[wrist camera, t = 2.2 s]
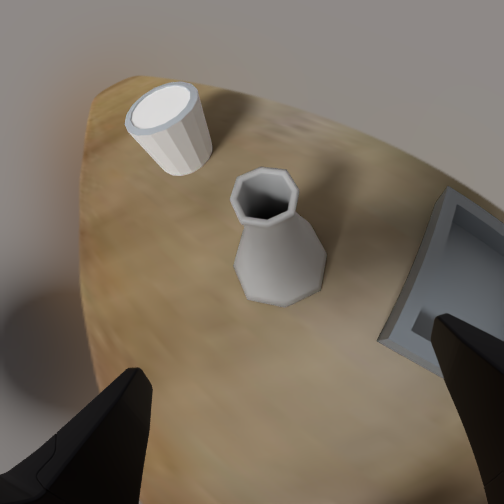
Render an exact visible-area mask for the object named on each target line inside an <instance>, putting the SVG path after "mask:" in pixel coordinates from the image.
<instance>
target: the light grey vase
mask: <svg viewBox="0 0 504 504" xmlns="http://www.w3.org/2000/svg"><path fill="white" fill-rule="evenodd" d="M298 196H299V189H298V187H297V185H296V184H295V182H294V181H293V179H292V177H291V176H290V174H289V173H288V171H287V170H286V169H277V168H269V167H259V168H257V169H254V170H252V171H250V172H247V173H245V174H243V175H241V176H238V177H237V179H236V182H235V185H234V188H233V191H232V194H231V197H230V201H231V204H232V206H233V208H234V210H235V212H236V215H237V217H238V219H239V221H240V223H241V224H242V225H244V230H243V233H242V236H241V240H240V243H239V247H238V251H237V254H236V258H235V262H234V265H233V267H234V269H235V272H236V274H237V276H238V279H239V281H240V283H241V286H242V288H243V290H244V293H245V295H246V298H247V300H252V301H257V302H261V303H266V304H271V305H276V306H280V307H287V306H289V305H291V304H294V303H296V302H298V301H300V300H302V299H304V298H306V297H308V296H311V295H313V294H315V293H317V292H319V291H321V285H322V280H323V275H324V269H325V263H326V257H327V253H326V251H325V250H324V248H323V246H322V244H321V242H320V240H319V239H318V237H317V235H316V233H315V231H314V230H313V228H312V226H311V224H310V223H309V222H308V221H307V220H305V219H304V218H302V217H301V216H300V215H299V214H298V213H297V212H296V206H297V201H298Z"/></svg>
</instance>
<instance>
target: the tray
mask: <svg viewBox="0 0 504 504" xmlns="http://www.w3.org/2000/svg"><path fill="white" fill-rule="evenodd" d="M444 313H448V314H451V315H453V316H455V317H457V318H459V319H461V320H463V321H465V322H467V323H469V324H471V325H473V326H475V327H477V328H479V329H481V330H483V331H485V332H487V333H489V334H491V335H493V336H495V337H497V338H499V339H501V340H502V341H504V224H503V223H502V222H501V221H499V220H498V219H497V218H495V217H494V216H493V215H491V214H490V213H488V212H487V211H486V210H484V209H483V208H481V207H480V206H478V205H477V204H475V203H474V202H472V201H471V200H469V199H468V198H466V197H465V196H463V195H462V194H460V193H459V192H457V191H456V190H454V189H452V188H451V187H449V186H447V188H446V189H445V191H444V192H443V193H442V195H441V196H440V197H439V199H438V200H437V202H436V203H435V205H434V209H433V212H432V215H431V218H430V221H429V224H428V226H427V229H426V232H425V235H424V238H423V240H422V243H421V246H420V248H419V251H418V253H417V256H416V258H415V261H414V263H413V266H412V268H411V270H410V273H409V275H408V277H407V280H406V282H405V284H404V287H403V289H402V291H401V293H400V295H399V297H398V300H397V302H396V304H395V306H394V308H393V310H392V312H391V314H390V316H389V318H388V320H387V322H386V324H385V326H384V328H383V330H382V332H381V334H380V335H379V337H378V339H377V342H379V343H381V344H383V345H384V346H386V347H388V348H390V349H392V350H393V351H395V352H397V353H399V354H400V355H402V356H404V357H406V358H408V359H409V360H411V361H413V362H415V363H416V364H418V365H420V366H422V367H424V368H425V369H427V370H429V371H431V372H433V373H434V374H436V375H438V376H440V377H442V378H443V375H442V372H441V369H440V366H439V363H438V360H437V357H436V355H435V352H434V349H433V347H432V344H431V333H432V328H433V323H434V319H435V317H436V316H438V315H441V314H444ZM443 379H444V378H443Z"/></svg>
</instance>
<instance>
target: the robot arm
mask: <svg viewBox="0 0 504 504" xmlns="http://www.w3.org/2000/svg"><path fill="white" fill-rule="evenodd" d="M431 344H432V347H433V349H434V352H435V355H436V357H437V360H438V363H439V366H440V369H441V372H442V375H443V378H444V380H445V383H446V386H447V388H448V390H449V393H450V395H451V397H452V399H453V402H454V404H455V406H456V409H457V411H458V413H459V416H460V418H461V421H462V423H463V426H464V428H465V431H466V434H467V436H468V439H469V442H470V445H471V447H472V450H473V453H474V456H475V459H476V462H477V465H478V468H479V472H480V475H481V478H482V482H483V485H484V489H485V493H486V497H487V501H488V504H504V341H502V340H501V339H499V338H497V337H495V336H493V335H491V334H489V333H487V332H485V331H483V330H481V329H479V328H477V327H475V326H473V325H471V324H469V323H467V322H465V321H463V320H461V319H459V318H457V317H455V316H453V315H451V314H448V313H444V314H441V315H438V316H436V317H435V319H434V323H433V328H432V333H431ZM152 392H153V389H152V385H151V383H150V381H149V380H148V378H147V377H146V375H145V374H144V372H143V371H142V369H140V368H138V367H136V368H128V369H126V370H125V371H124V372H123V373H122V374H121V375H120V376H118V377H117V378H116V379H115V380H114V381H113V382H112V383H111V384H110V385H109V386H108V387H106V388H105V389H104V390H103V391H102V392H101V393H100V394H99V395H98V396H97V397H95V398H94V399H93V400H92V401H91V402H90V403H89V404H88V405H87V406H86V407H84V408H83V409H82V410H81V411H80V412H79V413H78V414H77V415H76V416H75V417H73V418H72V419H71V420H70V421H69V422H68V423H67V424H66V425H65V426H64V427H62V428H61V429H60V430H59V431H58V432H57V434H55V435H54V436H52V437H51V438H50V439H49V440H48V441H47V442H46V443H45V444H43V445H42V446H41V447H40V448H39V449H38V450H36V451H35V452H34V453H32V454H31V455H30V456H29V457H27V458H26V459H24V460H23V461H22V462H20V463H19V464H18V465H16V466H15V467H13V468H12V469H11V470H9V471H8V472H6V473H4V474H1V475H0V504H139V496H140V488H141V481H142V474H143V467H144V461H145V455H146V449H147V443H148V437H149V430H150V417H151V404H152Z"/></svg>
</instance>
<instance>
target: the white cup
mask: <svg viewBox="0 0 504 504" xmlns="http://www.w3.org/2000/svg"><path fill="white" fill-rule="evenodd" d="M125 126H126V128H127V130H128V132H129V133H130V134H131V135H132V136H133V137H134V139H135V140H136V141H137V142H138V143H139V144H140V145H141V146H142V147H143V148H144V149H145V150H146V151H147V153H148V154H149V155H150V156H151V157H152V158H153V159H154V160H155V161H156V162H157V163H158V164H159V165H160V166H161V168H162V169H163V170H164V171H165V172H167V173H169V174H171V175H178V176H183V175H186V174H190V173H193V172H194V171H196V170H198V169H199V168H201V167H202V166H203V165H204V164H205V163H206V162H207V161H208V159H209V158H210V155H211V153H212V150H213V149H212V141H211V138H210V134H209V131H208V127H207V123H206V120H205V116H204V112H203V109H202V105H201V102H200V98H199V94H198V91H197V89H196V88H195V87H194V86H193V85H192V84H190V83H186V82H172V83H167V84H164V85H161V86H158V87H156V88H154V89H152V90H151V91H149V92H147V93H146V94H144V95H143V96H142V97H140V98H139V99H138V100H137V101H136V102H135V103H134V104H133V105H132V107H131V108H130V110H129V112H128V113H127V115H126V120H125Z"/></svg>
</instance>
